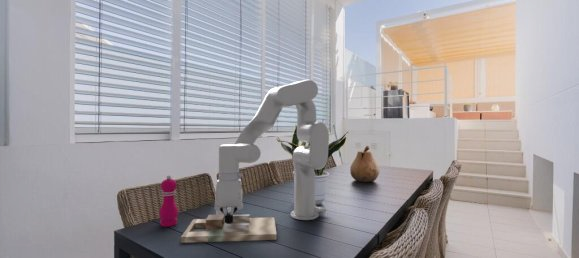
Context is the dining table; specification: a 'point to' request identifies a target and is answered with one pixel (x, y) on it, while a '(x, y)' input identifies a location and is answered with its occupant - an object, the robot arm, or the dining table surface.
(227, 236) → the trap board
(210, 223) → the walnut block
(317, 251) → the dining table surface
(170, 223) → the pepper mill
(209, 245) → the dining table surface
